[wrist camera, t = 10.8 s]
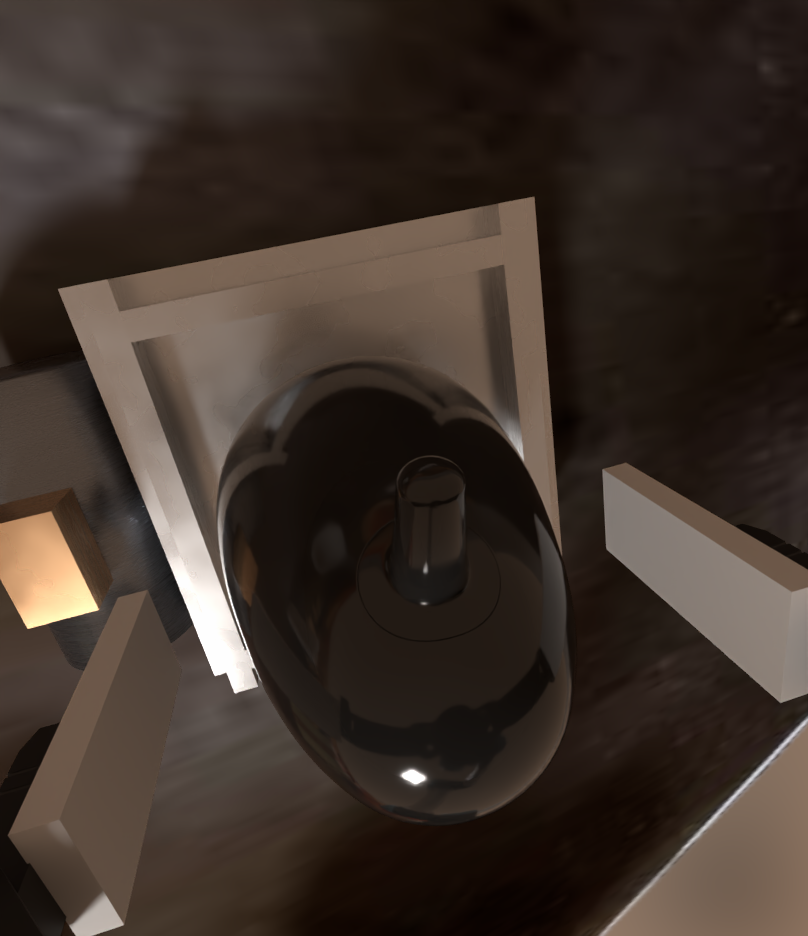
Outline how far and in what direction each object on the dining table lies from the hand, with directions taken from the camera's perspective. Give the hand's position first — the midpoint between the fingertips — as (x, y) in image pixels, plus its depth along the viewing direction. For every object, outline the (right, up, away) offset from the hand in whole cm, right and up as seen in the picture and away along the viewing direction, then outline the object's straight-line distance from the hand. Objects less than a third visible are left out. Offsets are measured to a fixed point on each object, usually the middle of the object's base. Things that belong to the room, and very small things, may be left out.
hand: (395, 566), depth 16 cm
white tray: (-6, +4, +11) cm, 13 cm away
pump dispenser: (-2, +3, +7) cm, 8 cm away
